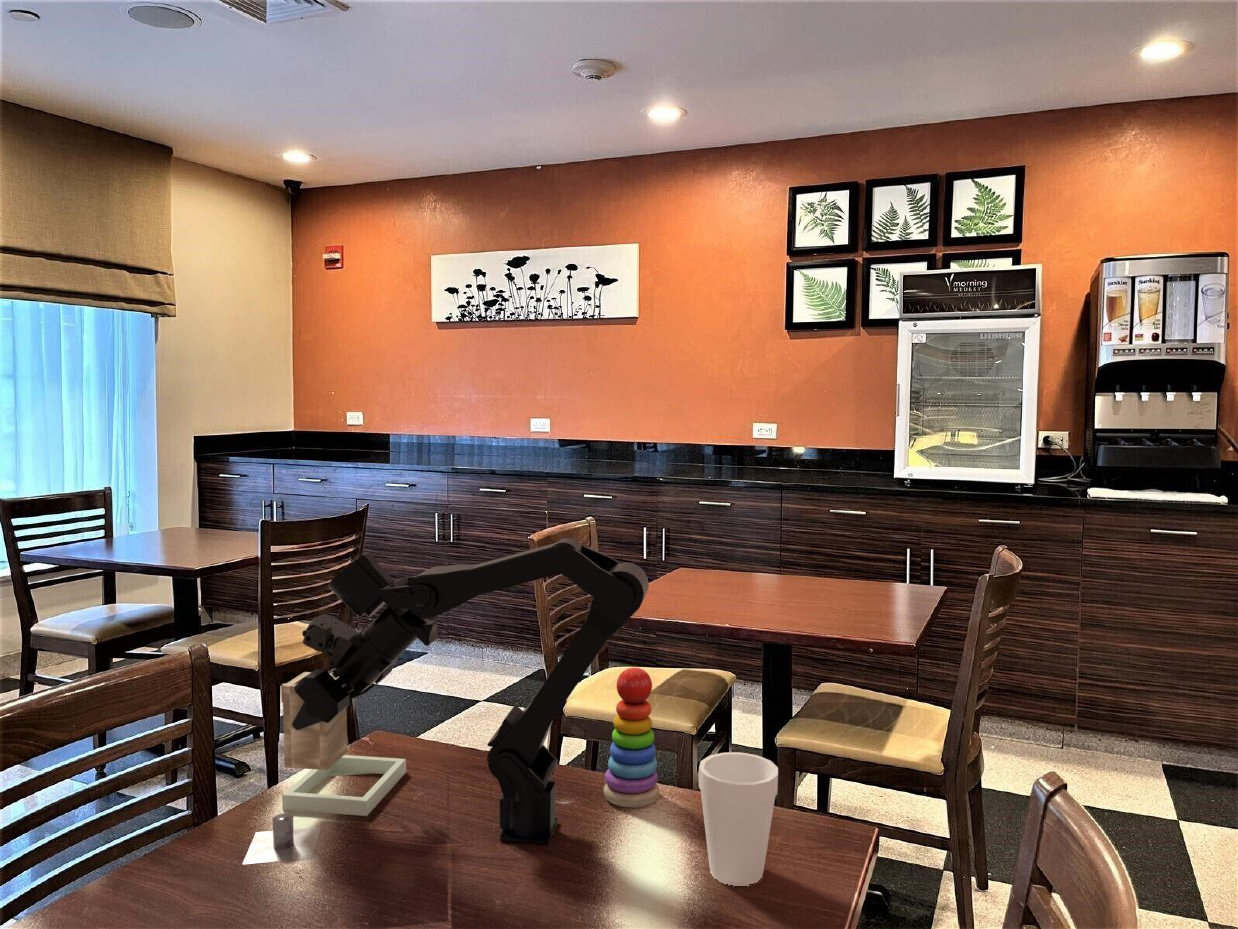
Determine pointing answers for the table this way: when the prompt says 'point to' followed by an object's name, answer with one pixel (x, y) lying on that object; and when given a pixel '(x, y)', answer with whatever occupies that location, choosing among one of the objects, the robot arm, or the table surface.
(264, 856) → the stand
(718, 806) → the foam cup
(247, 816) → the table surface
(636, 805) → the stacking toy
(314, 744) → the birch sleeve
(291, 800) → the green tray
